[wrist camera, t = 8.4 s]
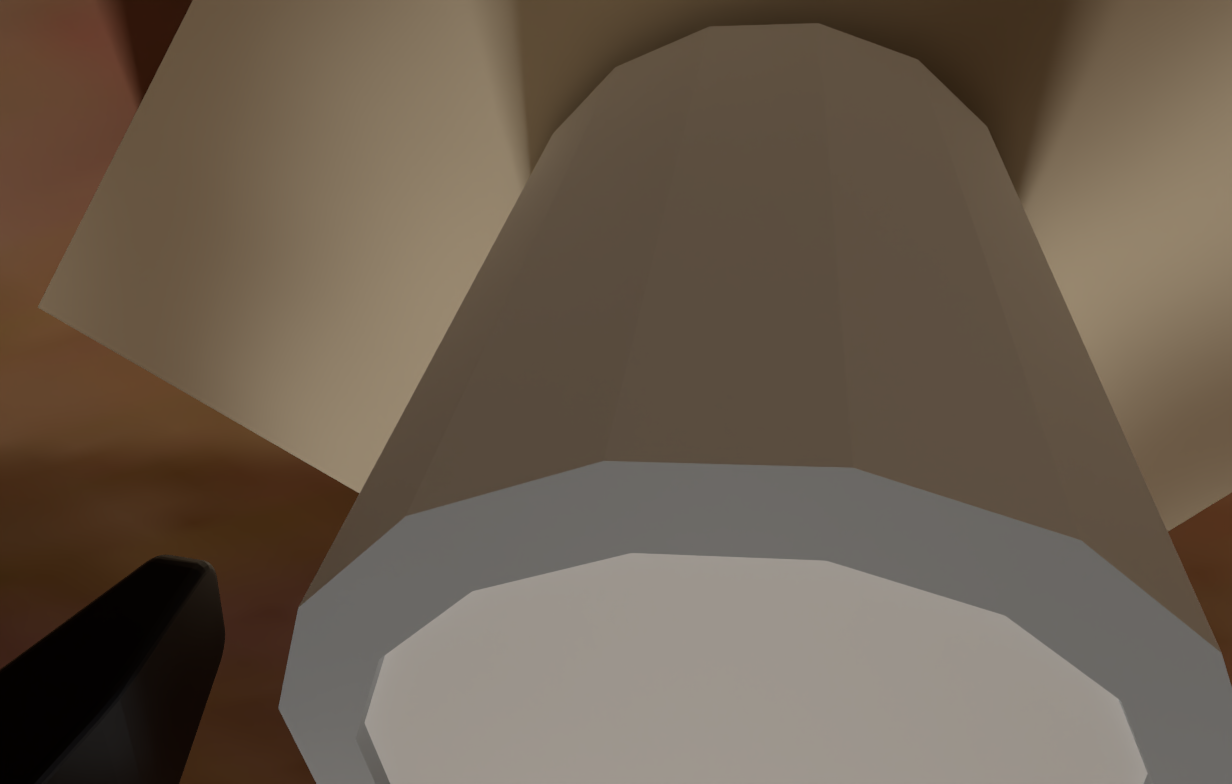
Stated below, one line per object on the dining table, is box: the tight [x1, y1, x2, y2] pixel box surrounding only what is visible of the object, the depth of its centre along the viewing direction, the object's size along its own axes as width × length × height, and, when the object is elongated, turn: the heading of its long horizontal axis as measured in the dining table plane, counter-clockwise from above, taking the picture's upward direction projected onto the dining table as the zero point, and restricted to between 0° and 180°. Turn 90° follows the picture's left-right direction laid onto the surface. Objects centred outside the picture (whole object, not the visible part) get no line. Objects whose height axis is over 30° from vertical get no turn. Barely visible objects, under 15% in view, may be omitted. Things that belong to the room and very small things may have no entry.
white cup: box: [279, 23, 1232, 784], centre depth 11 cm, size 7×7×7 cm
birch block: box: [38, 0, 1232, 532], centre depth 15 cm, size 14×14×4 cm
